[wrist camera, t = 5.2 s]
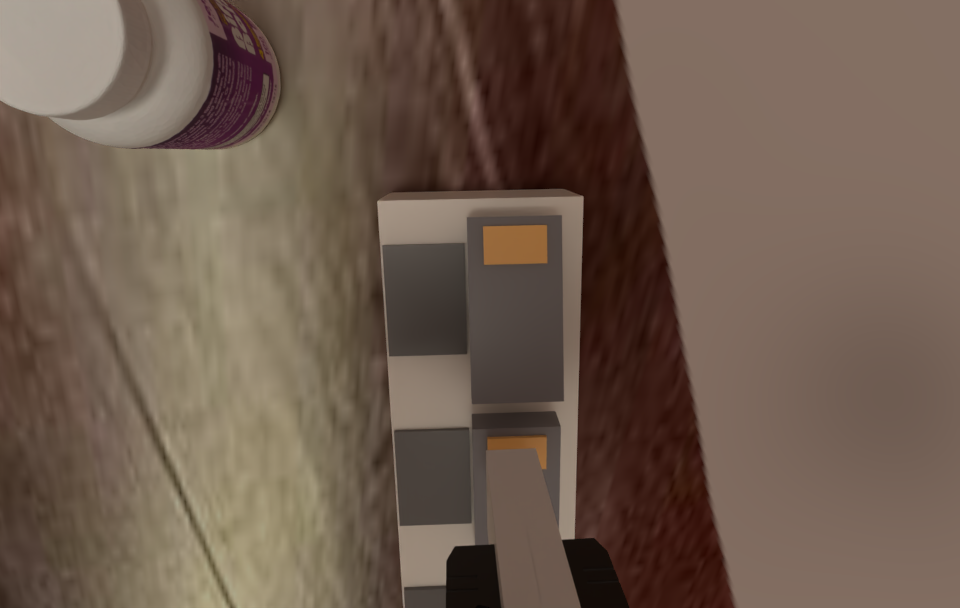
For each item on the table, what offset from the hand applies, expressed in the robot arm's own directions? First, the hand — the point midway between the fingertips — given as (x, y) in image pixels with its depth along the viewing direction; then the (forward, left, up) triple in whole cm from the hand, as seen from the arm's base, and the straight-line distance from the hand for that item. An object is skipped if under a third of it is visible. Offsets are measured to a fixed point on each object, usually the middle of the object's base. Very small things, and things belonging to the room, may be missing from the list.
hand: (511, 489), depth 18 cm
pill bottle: (-11, +13, -9) cm, 19 cm away
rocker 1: (0, +5, -3) cm, 6 cm away
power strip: (-1, -2, -9) cm, 9 cm away
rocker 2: (0, -2, -3) cm, 4 cm away
